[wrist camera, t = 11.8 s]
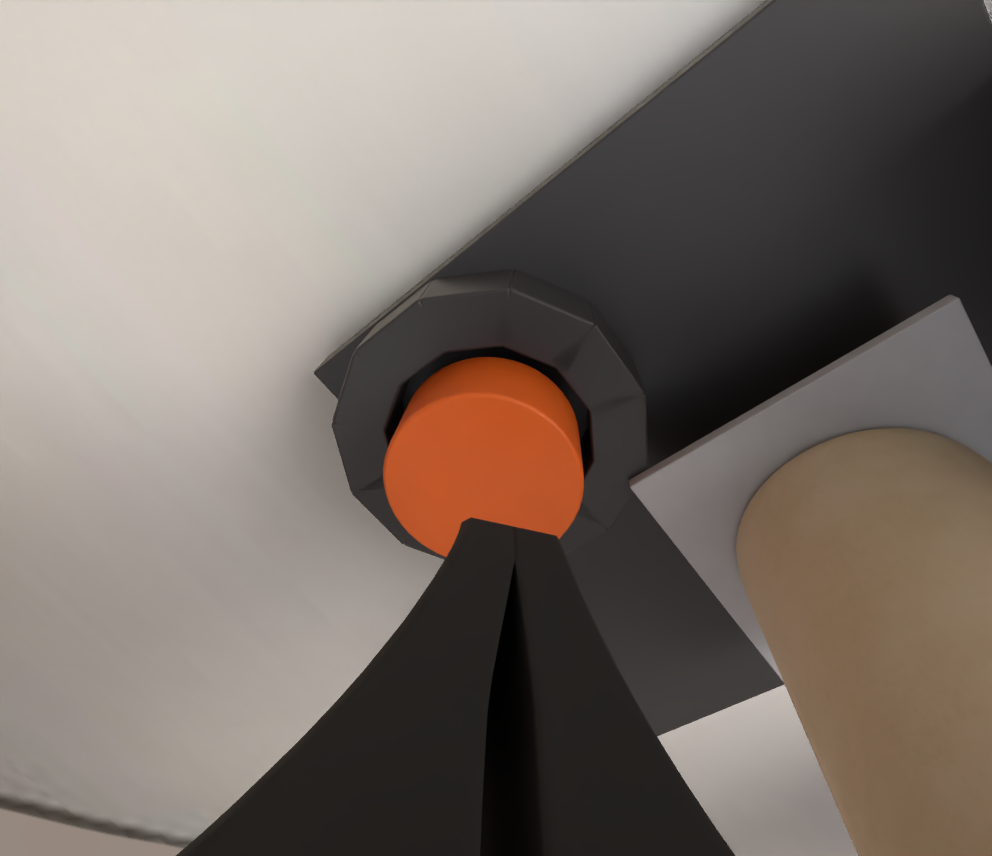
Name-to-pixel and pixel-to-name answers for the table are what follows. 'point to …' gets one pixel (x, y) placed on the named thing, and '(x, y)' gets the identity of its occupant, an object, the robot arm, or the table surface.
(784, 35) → the grey base plate
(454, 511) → the button
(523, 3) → the table surface
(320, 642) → the table surface
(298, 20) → the table surface
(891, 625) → the candle
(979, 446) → the tower
